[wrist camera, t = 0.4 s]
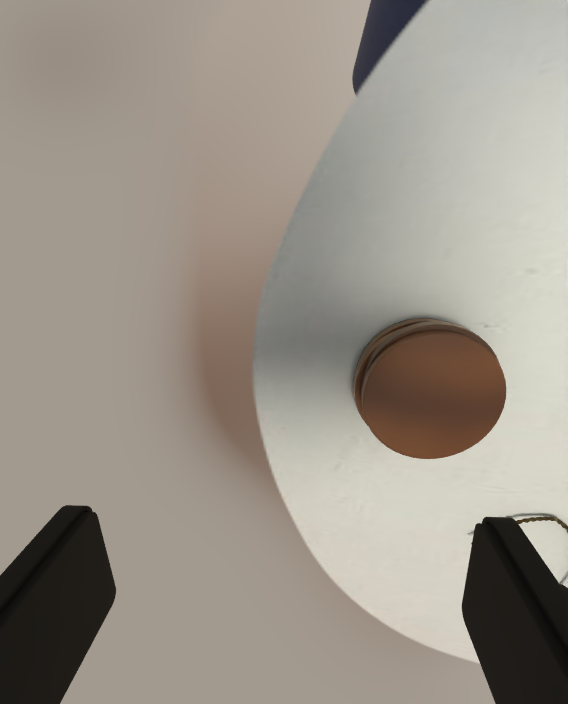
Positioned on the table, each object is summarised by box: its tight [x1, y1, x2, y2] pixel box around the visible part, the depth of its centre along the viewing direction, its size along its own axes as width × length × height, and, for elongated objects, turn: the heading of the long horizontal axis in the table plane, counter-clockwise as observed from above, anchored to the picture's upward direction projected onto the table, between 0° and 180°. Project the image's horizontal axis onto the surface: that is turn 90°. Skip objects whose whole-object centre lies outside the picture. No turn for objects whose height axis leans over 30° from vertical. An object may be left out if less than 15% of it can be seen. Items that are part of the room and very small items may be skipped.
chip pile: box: [353, 318, 506, 459], centre depth 22 cm, size 8×8×3 cm
